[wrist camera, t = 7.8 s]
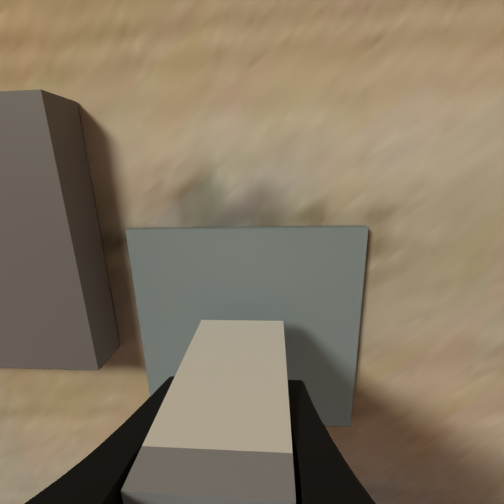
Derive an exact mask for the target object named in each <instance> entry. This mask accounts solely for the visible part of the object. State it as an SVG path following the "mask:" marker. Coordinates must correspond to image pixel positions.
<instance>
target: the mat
mask: <svg viewBox="0 0 504 504" xmlns="http://www.w3.org/2000/svg"><path fill="white" fill-rule="evenodd" d="M368 228H369V227H367V226H275V227H183V228H128V229H126V230H125V231H126V238H127V245H128V251H129V258H130V265H131V271H132V278H133V285H134V291H135V298H136V305H137V311H138V318H139V324H140V331H141V338H142V344H143V351H144V358H145V364H146V371H147V378H148V384H149V391H150V396H151V395H152V394H153V393H154V392H155V391H156V390H157V389H158V388H159V387H160V386H161V385H162V384H163V383H164V382H165V381H166V380H167V379H168V378H169V377H170V376H175V375H176V373H177V371H178V369H179V366H180V364H181V362H182V360H183V358H184V356H185V354H186V352H187V350H188V347H189V345H190V343H191V341H192V339H193V337H194V335H195V333H196V330H197V328H198V326H199V324H200V322H201V320H258V321H283V323H284V337H285V351H286V366H287V380H302V381H303V382H304V383H305V386H306V389H307V391H308V394H309V396H310V398H311V401H312V403H313V405H314V407H315V409H316V411H317V413H318V415H319V417H320V419H321V421H322V422H323V424H324V426H344V427H351V417H352V406H353V394H354V383H355V372H356V361H357V350H358V339H359V328H360V317H361V305H362V294H363V283H364V272H365V261H366V250H367V239H368Z"/></svg>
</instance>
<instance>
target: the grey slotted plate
mask: <svg viewBox="0 0 504 504" xmlns="http://www.w3.org/2000/svg"><path fill="white" fill-rule="evenodd" d="M119 346H120V343H119V337H118V332H117V326H116V320H115V314H114V309H113V303H112V297H111V292H110V286H109V280H108V275H107V269H106V263H105V258H104V252H103V246H102V241H101V235H100V229H99V223H98V218H97V212H96V206H95V201H94V195H93V189H92V184H91V178H90V172H89V167H88V161H87V155H86V150H85V144H84V138H83V133H82V127H81V121H80V115H79V110H78V104H77V102H75V101H72V100H69V99H66V98H64V97H61V96H58V95H55V94H52V93H49V92H46V91H43V90H24V91H4V92H0V368H27V369H63V370H99V369H100V368H101V367H102V366H103V365H104V364H105V362H106V361H107V360H108V359H109V358H110V357H111V355H112V354H113V353H114V352H115V351H116V350H117V349H118V347H119Z"/></svg>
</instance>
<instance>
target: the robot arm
mask: <svg viewBox="0 0 504 504" xmlns="http://www.w3.org/2000/svg"><path fill="white" fill-rule="evenodd" d="M174 377H175V376H170V377H169V378H168V379H167V380H166V381H165V382H164V383H163V384H162V385H161V386H160V387H159V388H158V389H157V390H156V391H155V392H154V393H153V394H152V395H151V396H150V397H149V398H148V400H147V401H146V402H145V403H144V404H143V405H142V406H141V407H140V408H139V409H138V410H137V411H136V412H135V413H134V414H133V415H132V416H131V417H130V418H129V419H128V420H127V421H126V422H125V423H123V424H122V425H121V426H120V427H119V428H118V429H117V430H116V431H115V432H114V433H113V434H112V435H111V436H109V437H108V438H107V439H106V440H105V441H104V442H103V443H102V444H101V445H100V446H98V447H97V448H96V449H95V450H94V451H93V452H92V453H90V454H89V455H88V456H87V457H86V458H84V459H83V460H82V461H81V462H80V463H78V464H77V465H76V466H75V467H73V468H72V469H71V470H70V471H68V472H67V473H66V474H65V475H63V476H62V477H61V478H59V479H58V480H57V481H55V482H54V483H52V484H51V485H50V486H48V487H47V488H46V489H44V490H43V491H41V492H40V493H39V494H37V495H36V496H35V497H33V498H32V499H30V500H29V501H28V502H26V503H25V504H123V500H122V495H121V489H122V487H123V485H124V483H125V481H126V479H127V477H128V474H129V472H130V470H131V468H132V466H133V464H134V462H135V460H136V457H137V455H138V453H139V451H140V449H141V447H142V445H143V443H144V441H145V438H146V436H147V434H148V432H149V430H150V428H151V426H152V424H153V422H154V419H155V417H156V415H157V413H158V411H159V409H160V407H161V405H162V402H163V400H164V398H165V396H166V394H167V392H168V390H169V388H170V386H171V383H172V381H173V379H174ZM288 394H289V408H290V423H291V437H292V451H293V466H294V480H295V494H296V504H375V502H374V501H373V500H372V498H371V497H370V496H369V494H368V493H367V492H366V490H365V489H364V487H363V486H362V485H361V483H360V482H359V480H358V479H357V478H356V476H355V475H354V473H353V472H352V470H351V469H350V467H349V466H348V464H347V463H346V461H345V460H344V458H343V456H342V455H341V453H340V452H339V450H338V448H337V447H336V445H335V444H334V442H333V440H332V439H331V437H330V435H329V433H328V431H327V430H326V428H325V426H324V424H323V422H322V421H321V419H320V417H319V415H318V413H317V411H316V409H315V407H314V405H313V403H312V401H311V398H310V396H309V394H308V391H307V389H306V386H305V383H304V382H303V381H302V380H288Z"/></svg>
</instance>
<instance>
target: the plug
mask: <svg viewBox="0 0 504 504" xmlns="http://www.w3.org/2000/svg"><path fill="white" fill-rule="evenodd" d="M121 495H122V500H123V504H296V494H295V480H294V466H293V451H292V437H291V423H290V408H289V394H288V380H287V366H286V351H285V337H284V323H283V321H258V320H201V322H200V324H199V326H198V328H197V330H196V333H195V335H194V337H193V339H192V341H191V343H190V345H189V347H188V350H187V352H186V354H185V356H184V358H183V360H182V362H181V364H180V366H179V369H178V371H177V373H176V375H175V377H174V379H173V381H172V383H171V386H170V388H169V390H168V392H167V394H166V396H165V398H164V400H163V402H162V405H161V407H160V409H159V411H158V413H157V415H156V417H155V419H154V422H153V424H152V426H151V428H150V430H149V432H148V434H147V436H146V438H145V441H144V443H143V445H142V447H141V449H140V451H139V453H138V455H137V457H136V460H135V462H134V464H133V466H132V468H131V470H130V472H129V474H128V477H127V479H126V481H125V483H124V485H123V487H122V489H121Z"/></svg>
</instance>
